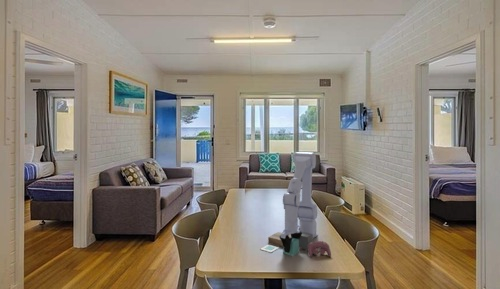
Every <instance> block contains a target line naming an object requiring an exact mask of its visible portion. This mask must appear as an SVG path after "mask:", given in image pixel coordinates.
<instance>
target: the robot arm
mask: <svg viewBox="0 0 500 289" xmlns="http://www.w3.org/2000/svg"><path fill="white" fill-rule="evenodd" d="M293 162H294V166H295V167H294V168H295V169H294V173H293V177H292V178H290V180H289V183H288V187H287V190H286V192H284V193H283V196H282V204H283V209H284V229H283V230H282V232H280V233H281V235H280V239H281V241H282V244H283V247H284V251H285V252H287V253H289V252H290V245H291V241H292V239H293V238H295V239H300V236H301V235H302V232H305V233H310V234H313V239H314V238H316V237H317V236H318V235H319V234H318V233H317V221H316V219H317V217H318V206H317V203H316V202H315V201H313V200H312V186H313V185H312V184H313V182H312V179H313V178H312V177H313V169H315V168H316V165H317V164H316V163H317V156H316V154H315V152H304V151H296V152H294V154H293ZM301 190H302V191H301ZM298 220H299V221H298ZM289 235H291V238H290V237H289ZM283 247H282V248H283Z"/></svg>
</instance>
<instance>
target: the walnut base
mask: <svg viewBox="0 0 500 289" xmlns="http://www.w3.org/2000/svg"><path fill="white" fill-rule="evenodd" d="M281 233H282V232H280V231H278V232H275V233H274V234H272V235H270V236H268V237H267V238H268V239H267V241H268V244H269V245H273V246H276V247H281V248H283V244H282V241H281V239H280V235H281ZM289 237H291V234H290V235H289Z"/></svg>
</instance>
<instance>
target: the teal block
mask: <svg viewBox="0 0 500 289" xmlns="http://www.w3.org/2000/svg"><path fill="white" fill-rule="evenodd" d="M290 238H291V237H290ZM282 248H283V250H282V254H284V255H285V254H286V255H289V256H292V257H294V256H295V255H297V254H299V249H300V248H299V239H295V238H293V239H292V241H291V245H290V252H289V253H287V252H285V251H284V247H282Z"/></svg>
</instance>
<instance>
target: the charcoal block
mask: <svg viewBox="0 0 500 289" xmlns="http://www.w3.org/2000/svg"><path fill="white" fill-rule="evenodd" d="M310 242H314V238H313V234H310V233H305V232H302V235H301V236H300V239H299V249H303V250H307V251H308V247H307V246H308V244H309V243H310Z"/></svg>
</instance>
